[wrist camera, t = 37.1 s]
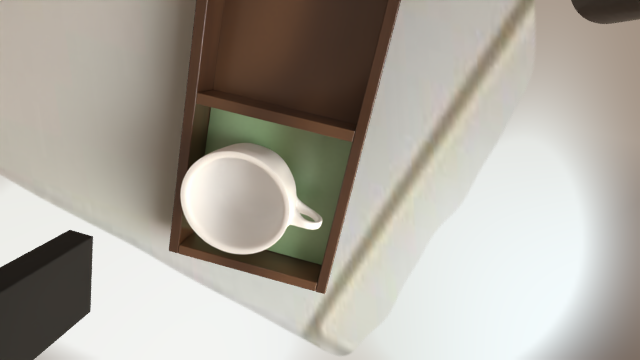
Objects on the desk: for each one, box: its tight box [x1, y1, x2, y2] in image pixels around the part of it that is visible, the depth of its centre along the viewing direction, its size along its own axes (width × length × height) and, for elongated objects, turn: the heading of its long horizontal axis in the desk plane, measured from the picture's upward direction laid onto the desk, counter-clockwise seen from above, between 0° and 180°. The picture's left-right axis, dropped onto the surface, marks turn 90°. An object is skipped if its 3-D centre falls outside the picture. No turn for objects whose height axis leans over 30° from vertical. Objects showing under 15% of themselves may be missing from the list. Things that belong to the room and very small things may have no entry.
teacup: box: [180, 143, 323, 254], centre depth 30 cm, size 10×8×5 cm
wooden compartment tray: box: [169, 0, 401, 294], centre depth 30 cm, size 13×25×4 cm, turn 168°
